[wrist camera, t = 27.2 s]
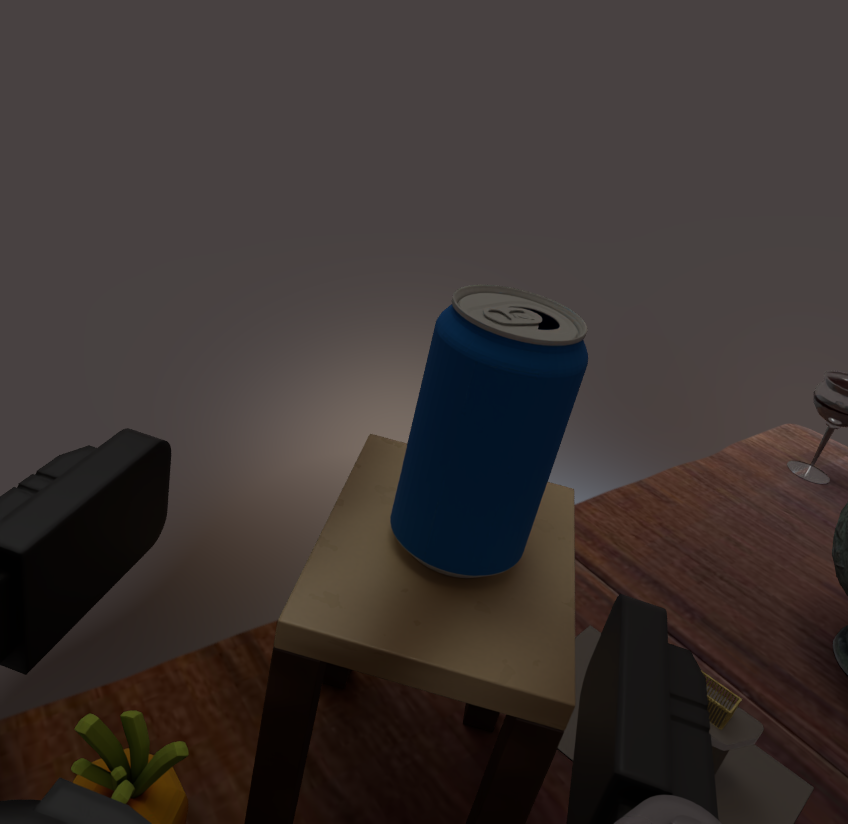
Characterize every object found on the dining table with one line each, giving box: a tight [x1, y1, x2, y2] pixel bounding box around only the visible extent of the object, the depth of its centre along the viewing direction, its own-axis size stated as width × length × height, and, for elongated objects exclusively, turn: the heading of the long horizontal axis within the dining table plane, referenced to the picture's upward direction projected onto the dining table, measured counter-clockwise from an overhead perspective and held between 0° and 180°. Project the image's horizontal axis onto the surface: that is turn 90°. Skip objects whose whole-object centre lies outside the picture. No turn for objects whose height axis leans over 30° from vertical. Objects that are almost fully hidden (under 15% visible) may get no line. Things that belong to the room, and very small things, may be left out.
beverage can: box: [390, 285, 588, 578], centre depth 35 cm, size 6×6×12 cm
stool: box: [245, 434, 576, 824], centre depth 42 cm, size 12×16×18 cm
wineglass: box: [787, 371, 848, 484], centre depth 92 cm, size 7×7×12 cm
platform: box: [558, 626, 814, 824], centre depth 51 cm, size 12×18×7 cm, turn 47°
